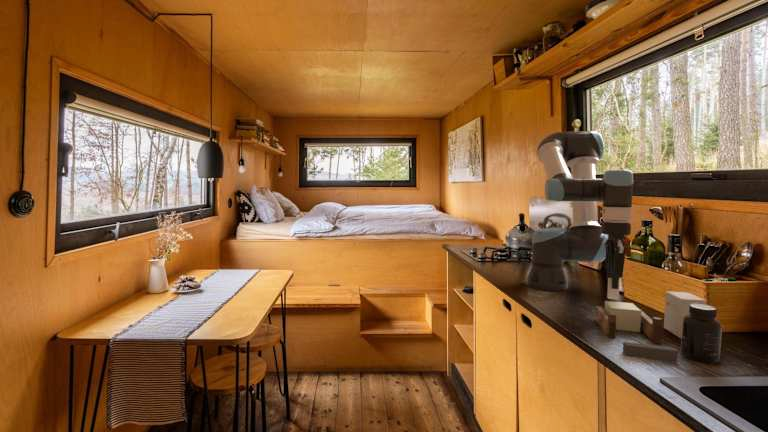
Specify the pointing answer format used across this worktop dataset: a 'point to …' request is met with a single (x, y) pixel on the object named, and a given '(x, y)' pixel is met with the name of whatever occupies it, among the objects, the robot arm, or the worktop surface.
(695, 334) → the supplement bottle
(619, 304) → the block
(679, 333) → the small box
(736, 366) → the worktop surface
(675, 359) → the bar
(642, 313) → the chute
